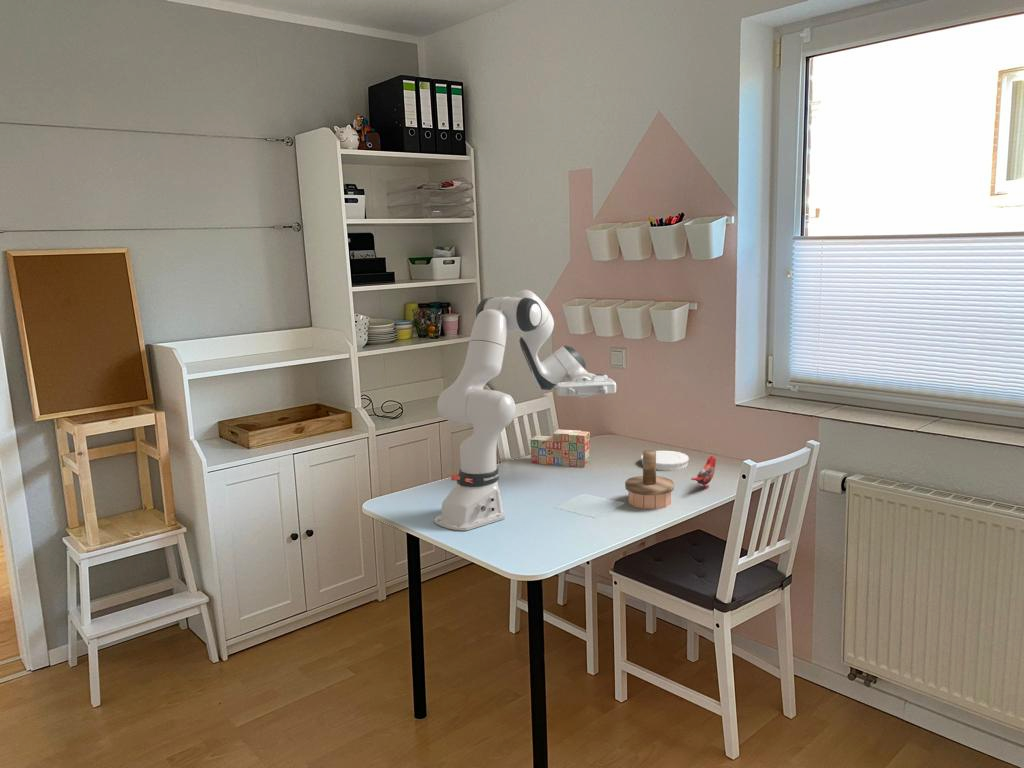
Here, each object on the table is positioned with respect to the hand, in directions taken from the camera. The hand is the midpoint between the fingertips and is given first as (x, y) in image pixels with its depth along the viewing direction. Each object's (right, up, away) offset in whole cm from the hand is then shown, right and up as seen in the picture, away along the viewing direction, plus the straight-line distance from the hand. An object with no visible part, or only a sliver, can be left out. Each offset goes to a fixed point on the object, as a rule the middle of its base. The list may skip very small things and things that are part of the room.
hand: (589, 392), depth 256 cm
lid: (+30, -27, +29) cm, 49 cm away
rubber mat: (-2, -35, -14) cm, 38 cm away
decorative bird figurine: (+37, -32, -3) cm, 49 cm away
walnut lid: (+17, -29, -14) cm, 37 cm away
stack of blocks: (-8, -27, +33) cm, 44 cm away
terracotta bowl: (+18, -34, -13) cm, 41 cm away
